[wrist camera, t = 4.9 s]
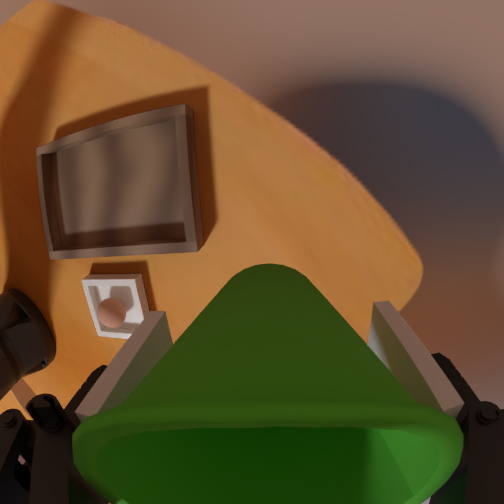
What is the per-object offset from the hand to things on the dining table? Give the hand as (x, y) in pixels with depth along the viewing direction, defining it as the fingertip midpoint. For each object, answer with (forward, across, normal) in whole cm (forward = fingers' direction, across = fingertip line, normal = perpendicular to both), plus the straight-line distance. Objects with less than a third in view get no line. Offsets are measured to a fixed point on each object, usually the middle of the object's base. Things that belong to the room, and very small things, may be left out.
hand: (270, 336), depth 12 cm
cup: (+3, 0, 0) cm, 3 cm away
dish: (+17, -19, -7) cm, 26 cm away
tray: (+17, -17, +7) cm, 25 cm away
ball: (+17, -19, -7) cm, 26 cm away
